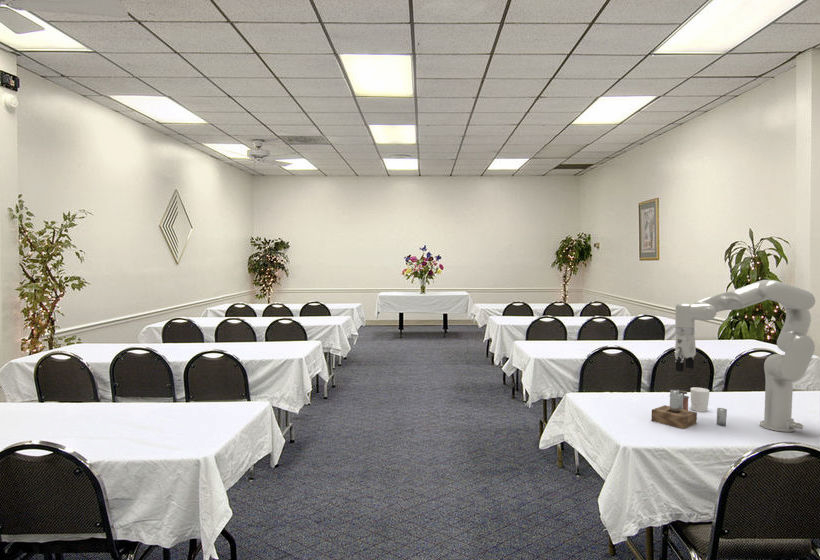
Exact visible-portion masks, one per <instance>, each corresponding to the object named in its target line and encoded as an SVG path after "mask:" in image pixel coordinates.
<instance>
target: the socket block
mask: <svg viewBox="0 0 820 560" xmlns="http://www.w3.org/2000/svg"><path fill="white" fill-rule="evenodd" d="M697 416H698V412H697V411H693V410H689V409H688V410H683V409H679V413H673V412H670V405H666V404H665V405H662V406H658V407H656V408H653V409H651V418H650V419H651V421H652V422H654V421H655V423H658V422H659V424H662V425H666V426H670V427H675V428H678V429H682V430H685V429H688V428H690V427H692V426H696V425H697V424H698V421H697V420H698V417H697Z"/></svg>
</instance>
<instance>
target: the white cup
mask: <svg viewBox="0 0 820 560" xmlns="http://www.w3.org/2000/svg"><path fill="white" fill-rule="evenodd" d="M709 399H710V390H709V389H708V388H705V387H704V388H703V387H690V408H691V411H693V412H697V413H698V412H700V413H706V412H708V408H709V407H708V406H709Z"/></svg>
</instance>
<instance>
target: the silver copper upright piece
mask: <svg viewBox="0 0 820 560" xmlns="http://www.w3.org/2000/svg"><path fill="white" fill-rule="evenodd" d="M676 390H677V391H679V394H681V395H683V410H688V411H689V398H690V396H689V395H688V391H686V390H680V389H676Z"/></svg>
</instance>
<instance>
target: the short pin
mask: <svg viewBox="0 0 820 560" xmlns="http://www.w3.org/2000/svg"><path fill="white" fill-rule="evenodd" d="M727 411H728V409H726V408H724V407H717V408H716V425H717V426H719V427H720V426H721V427H726V426H727V417H728V416H727V413H728V412H727Z"/></svg>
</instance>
